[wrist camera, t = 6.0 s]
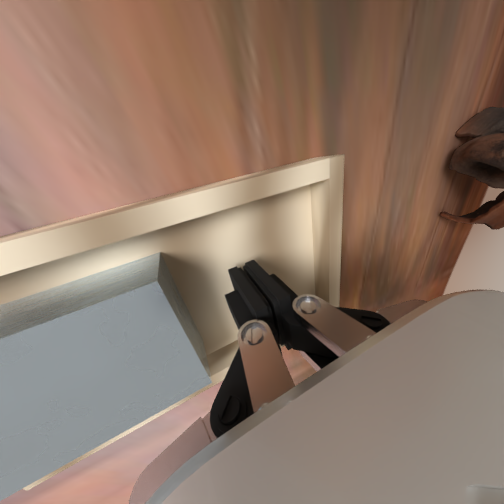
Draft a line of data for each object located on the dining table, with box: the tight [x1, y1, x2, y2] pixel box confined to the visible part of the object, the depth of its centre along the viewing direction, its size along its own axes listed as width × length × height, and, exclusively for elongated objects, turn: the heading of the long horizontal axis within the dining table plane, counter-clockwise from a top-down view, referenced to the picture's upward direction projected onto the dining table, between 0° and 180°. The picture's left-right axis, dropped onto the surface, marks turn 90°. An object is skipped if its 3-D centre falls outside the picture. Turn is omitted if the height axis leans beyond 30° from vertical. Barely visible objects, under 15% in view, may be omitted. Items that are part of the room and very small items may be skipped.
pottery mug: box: [440, 107, 504, 229], centre depth 16 cm, size 12×10×8 cm
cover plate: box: [0, 252, 212, 501], centre depth 8 cm, size 10×7×3 cm
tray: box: [0, 154, 344, 490], centre depth 11 cm, size 21×12×2 cm, turn 105°
